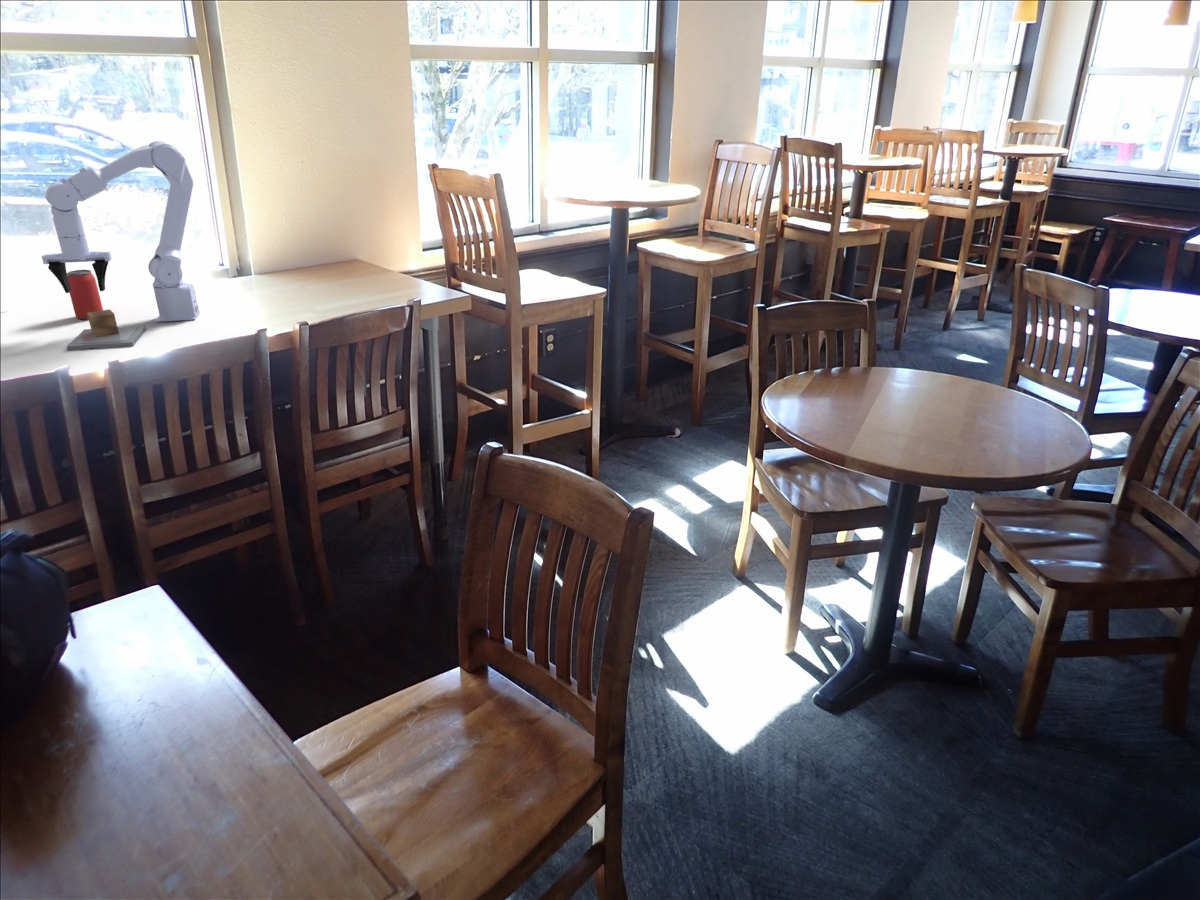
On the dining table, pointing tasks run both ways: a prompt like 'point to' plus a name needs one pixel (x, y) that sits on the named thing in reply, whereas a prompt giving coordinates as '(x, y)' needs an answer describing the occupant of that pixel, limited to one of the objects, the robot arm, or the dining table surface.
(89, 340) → the coaster
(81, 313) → the beer can
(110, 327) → the walnut block
